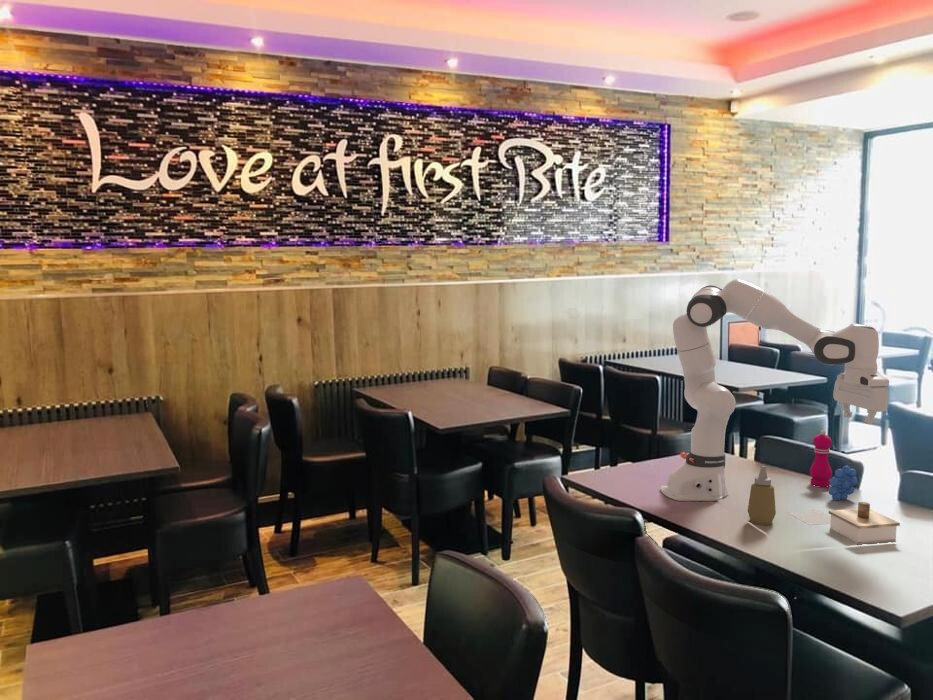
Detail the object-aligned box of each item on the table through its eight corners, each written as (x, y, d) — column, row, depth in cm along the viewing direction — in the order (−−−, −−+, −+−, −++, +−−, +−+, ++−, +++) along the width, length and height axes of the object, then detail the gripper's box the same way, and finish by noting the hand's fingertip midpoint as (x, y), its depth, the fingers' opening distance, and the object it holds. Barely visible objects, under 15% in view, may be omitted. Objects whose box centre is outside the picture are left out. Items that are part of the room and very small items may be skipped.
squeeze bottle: (762, 529, 218) (765, 471, 216) (741, 521, 225) (743, 465, 223) (781, 525, 222) (783, 468, 219) (759, 517, 229) (761, 461, 227)
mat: (809, 526, 220) (809, 524, 220) (787, 514, 231) (787, 512, 231) (841, 524, 222) (842, 522, 222) (818, 512, 233) (818, 510, 232)
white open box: (857, 545, 206) (858, 528, 205) (830, 529, 217) (831, 513, 217) (895, 542, 207) (896, 525, 207) (866, 527, 219) (866, 511, 219)
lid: (858, 528, 204) (859, 512, 204) (828, 513, 217) (829, 497, 217) (899, 525, 207) (900, 509, 206) (867, 510, 219) (868, 495, 219)
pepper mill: (833, 488, 256) (836, 433, 254) (812, 487, 258) (814, 432, 255) (828, 482, 263) (830, 428, 261) (806, 481, 265) (809, 427, 262)
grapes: (844, 494, 249) (846, 460, 248) (861, 500, 243) (863, 466, 241) (818, 498, 245) (820, 464, 244) (834, 505, 239) (836, 469, 238)
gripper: (829, 371, 233) (826, 413, 235) (874, 382, 213) (871, 428, 215) (847, 371, 234) (844, 413, 236) (893, 381, 214) (890, 427, 216)
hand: (857, 420), depth 225 cm, fingers open, 8 cm apart
